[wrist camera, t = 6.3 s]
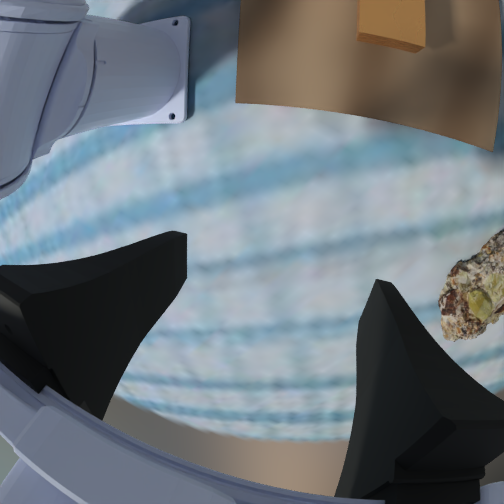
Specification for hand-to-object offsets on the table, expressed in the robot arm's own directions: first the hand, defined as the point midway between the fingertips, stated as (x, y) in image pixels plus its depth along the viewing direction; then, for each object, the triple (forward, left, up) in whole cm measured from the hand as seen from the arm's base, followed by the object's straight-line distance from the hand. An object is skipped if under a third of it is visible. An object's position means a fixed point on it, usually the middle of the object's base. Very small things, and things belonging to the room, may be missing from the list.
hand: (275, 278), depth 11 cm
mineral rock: (+16, -4, -11) cm, 20 cm away
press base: (+4, +17, -10) cm, 20 cm away
